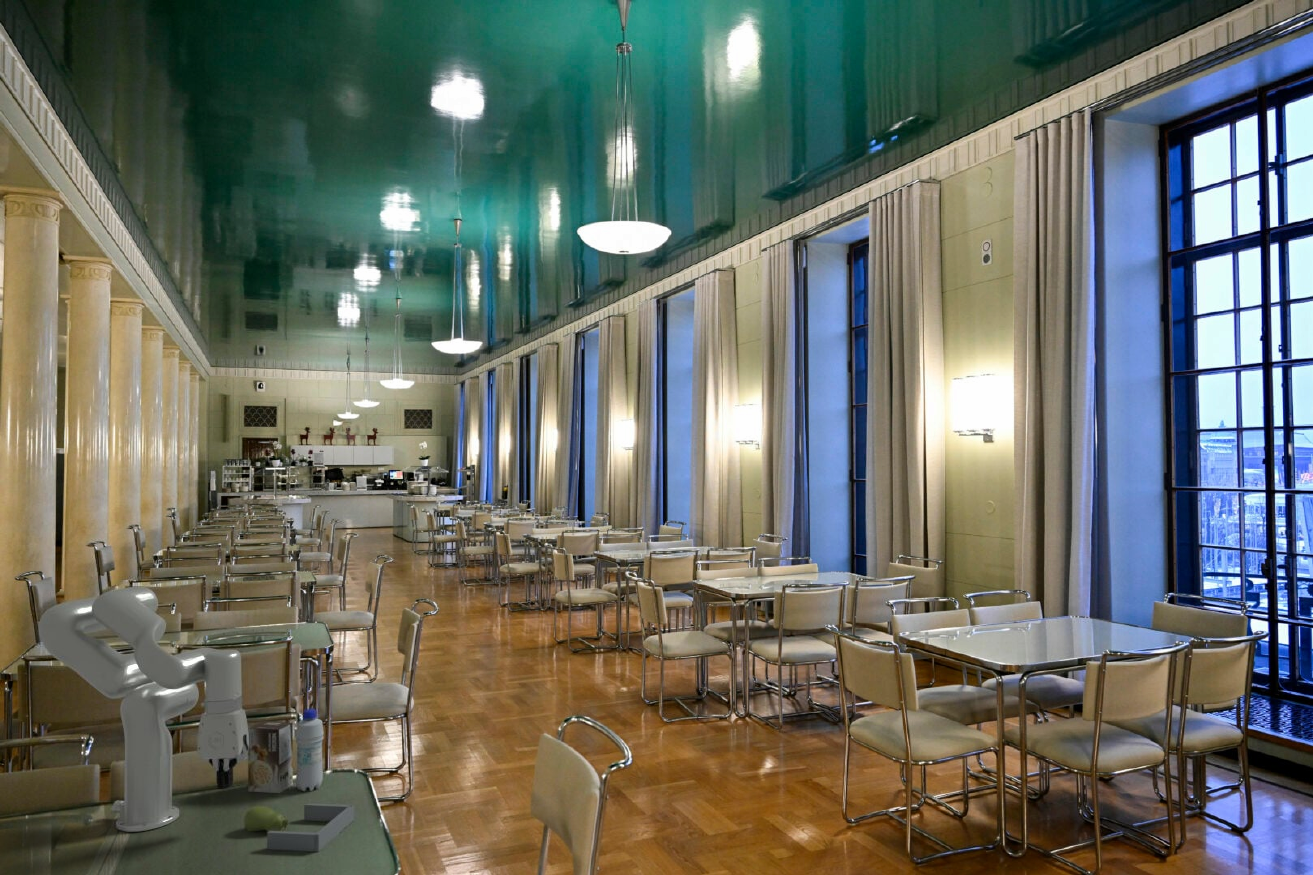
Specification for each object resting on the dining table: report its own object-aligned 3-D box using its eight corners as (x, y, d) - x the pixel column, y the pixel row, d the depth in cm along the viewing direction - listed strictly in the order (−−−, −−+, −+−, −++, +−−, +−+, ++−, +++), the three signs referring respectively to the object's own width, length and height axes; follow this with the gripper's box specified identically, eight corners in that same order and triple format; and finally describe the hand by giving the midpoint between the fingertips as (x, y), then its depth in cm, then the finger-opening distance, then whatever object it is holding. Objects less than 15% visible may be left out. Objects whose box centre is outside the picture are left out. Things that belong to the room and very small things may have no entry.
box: (267, 849, 182) (267, 832, 182) (306, 818, 198) (306, 803, 198) (318, 851, 181) (318, 834, 181) (354, 820, 196) (354, 805, 197)
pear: (256, 799, 195) (294, 809, 193) (252, 822, 195) (291, 832, 193) (240, 808, 190) (279, 819, 188) (236, 832, 190) (275, 843, 188)
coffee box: (294, 784, 219) (294, 721, 220) (279, 793, 213) (279, 729, 214) (262, 782, 221) (262, 720, 221) (246, 791, 215) (246, 727, 215)
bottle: (313, 793, 213) (313, 713, 214) (289, 792, 214) (290, 712, 215) (328, 784, 219) (329, 706, 220) (305, 782, 221) (306, 704, 221)
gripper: (182, 710, 191) (183, 792, 190) (244, 709, 189) (245, 793, 188) (203, 701, 198) (205, 780, 198) (263, 700, 197) (265, 781, 196)
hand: (225, 786), depth 193 cm, fingers closed
